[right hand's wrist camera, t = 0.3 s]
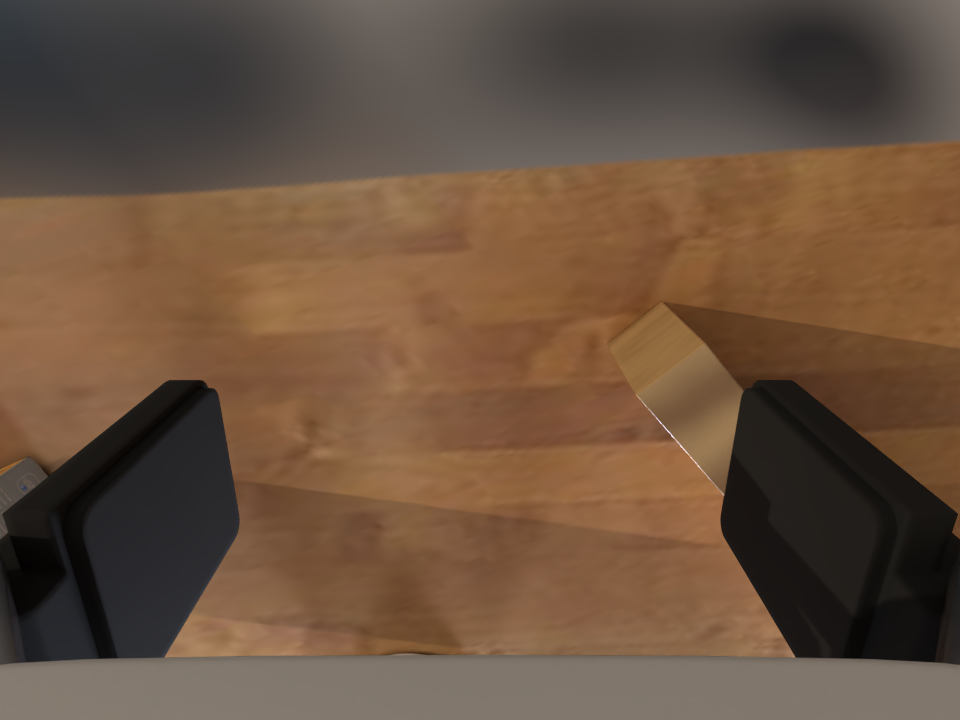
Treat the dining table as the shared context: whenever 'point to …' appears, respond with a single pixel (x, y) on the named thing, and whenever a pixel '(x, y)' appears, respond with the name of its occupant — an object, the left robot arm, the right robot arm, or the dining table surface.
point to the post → (682, 387)
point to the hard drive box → (17, 484)
